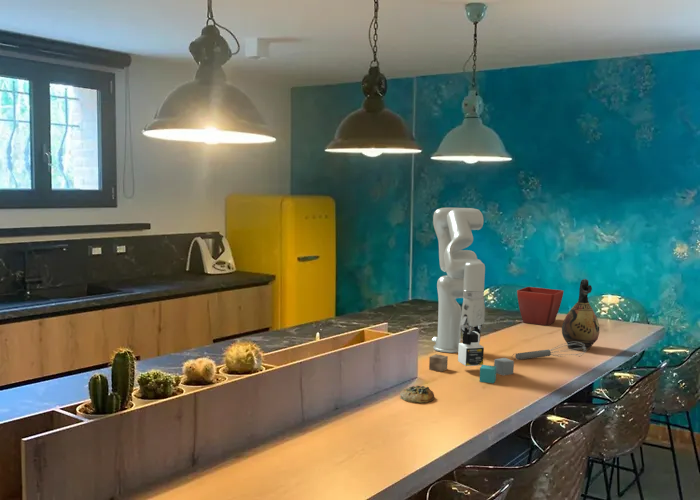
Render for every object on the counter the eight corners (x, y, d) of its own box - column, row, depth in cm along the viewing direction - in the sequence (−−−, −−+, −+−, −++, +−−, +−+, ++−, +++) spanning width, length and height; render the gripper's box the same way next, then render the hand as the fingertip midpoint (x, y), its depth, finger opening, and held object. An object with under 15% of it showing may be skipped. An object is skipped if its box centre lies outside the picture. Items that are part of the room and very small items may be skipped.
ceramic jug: (601, 353, 288) (605, 283, 285) (562, 351, 291) (566, 281, 288) (595, 344, 305) (598, 277, 302) (559, 342, 308) (562, 276, 305)
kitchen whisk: (508, 358, 277) (508, 343, 277) (580, 354, 287) (581, 340, 286) (515, 362, 272) (516, 346, 271) (589, 358, 281) (590, 343, 280)
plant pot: (562, 322, 356) (564, 289, 355) (552, 327, 340) (553, 294, 338) (526, 317, 366) (528, 286, 365) (514, 323, 350) (516, 290, 349)
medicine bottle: (465, 366, 252) (467, 334, 251) (457, 361, 259) (458, 330, 257) (483, 365, 254) (484, 333, 252) (474, 360, 261) (476, 329, 259)
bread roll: (431, 393, 227) (431, 379, 226) (436, 408, 216) (436, 393, 215) (398, 393, 227) (398, 379, 226) (401, 409, 216) (401, 394, 215)
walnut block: (429, 369, 257) (429, 356, 256) (435, 367, 261) (435, 354, 261) (441, 372, 254) (441, 358, 254) (447, 369, 258) (447, 356, 258)
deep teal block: (479, 381, 242) (480, 368, 242) (481, 378, 247) (482, 364, 246) (493, 383, 240) (494, 369, 240) (495, 379, 245) (496, 366, 244)
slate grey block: (493, 372, 255) (494, 359, 255) (504, 370, 257) (504, 357, 257) (503, 375, 251) (503, 362, 250) (513, 374, 253) (513, 360, 253)
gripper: (470, 299, 244) (468, 348, 246) (493, 293, 258) (491, 340, 260) (452, 296, 249) (450, 344, 251) (476, 291, 262) (474, 337, 264)
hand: (471, 342), depth 255 cm, fingers closed on medicine bottle, 6 cm apart
